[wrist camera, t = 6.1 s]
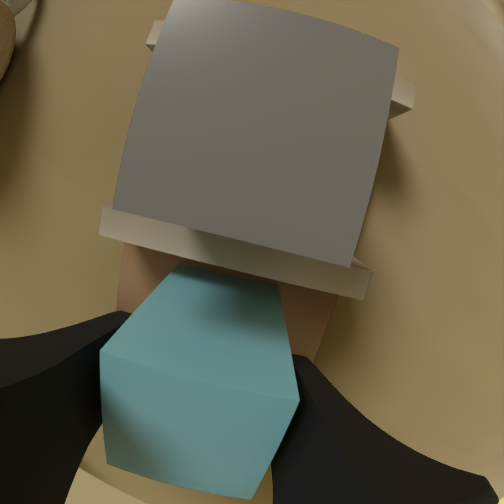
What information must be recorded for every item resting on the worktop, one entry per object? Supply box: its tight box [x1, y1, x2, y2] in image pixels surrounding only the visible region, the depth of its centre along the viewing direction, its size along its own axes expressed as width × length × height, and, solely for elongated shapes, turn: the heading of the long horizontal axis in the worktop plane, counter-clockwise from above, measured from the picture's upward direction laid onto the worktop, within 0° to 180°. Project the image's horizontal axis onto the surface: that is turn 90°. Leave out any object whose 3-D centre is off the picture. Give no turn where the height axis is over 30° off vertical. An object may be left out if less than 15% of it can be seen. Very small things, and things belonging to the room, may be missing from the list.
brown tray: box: [99, 20, 416, 363], centre depth 11 cm, size 14×9×3 cm, turn 166°
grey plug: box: [112, 0, 399, 268], centre depth 8 cm, size 4×4×7 cm
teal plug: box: [100, 263, 300, 500], centre depth 9 cm, size 4×4×7 cm
